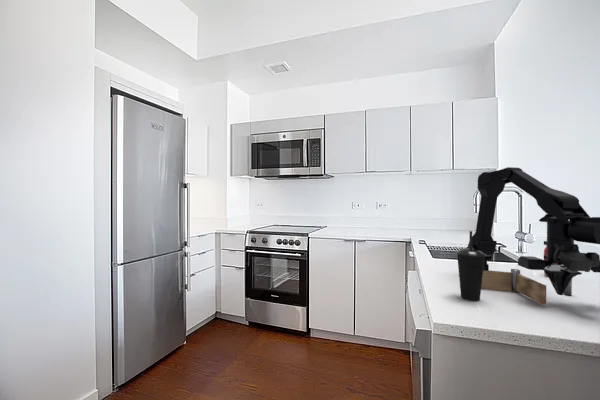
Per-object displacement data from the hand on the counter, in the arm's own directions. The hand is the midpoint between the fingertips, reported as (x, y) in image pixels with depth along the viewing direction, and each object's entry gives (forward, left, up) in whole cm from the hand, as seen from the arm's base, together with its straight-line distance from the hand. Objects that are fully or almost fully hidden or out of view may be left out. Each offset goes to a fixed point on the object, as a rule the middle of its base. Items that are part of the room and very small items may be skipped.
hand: (559, 294), depth 81 cm
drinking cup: (-23, -3, -3) cm, 23 cm away
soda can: (+13, +35, -3) cm, 37 cm away
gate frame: (-5, +10, -3) cm, 11 cm away
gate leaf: (-6, +2, -2) cm, 7 cm away
